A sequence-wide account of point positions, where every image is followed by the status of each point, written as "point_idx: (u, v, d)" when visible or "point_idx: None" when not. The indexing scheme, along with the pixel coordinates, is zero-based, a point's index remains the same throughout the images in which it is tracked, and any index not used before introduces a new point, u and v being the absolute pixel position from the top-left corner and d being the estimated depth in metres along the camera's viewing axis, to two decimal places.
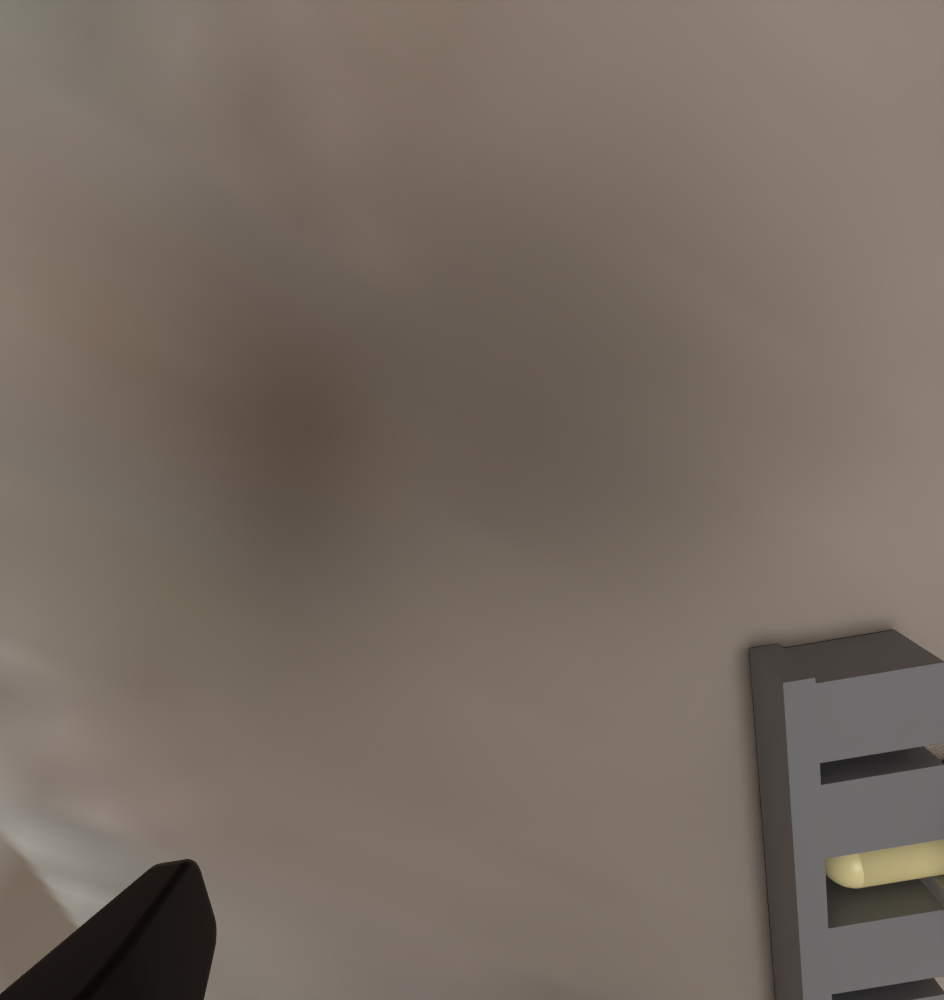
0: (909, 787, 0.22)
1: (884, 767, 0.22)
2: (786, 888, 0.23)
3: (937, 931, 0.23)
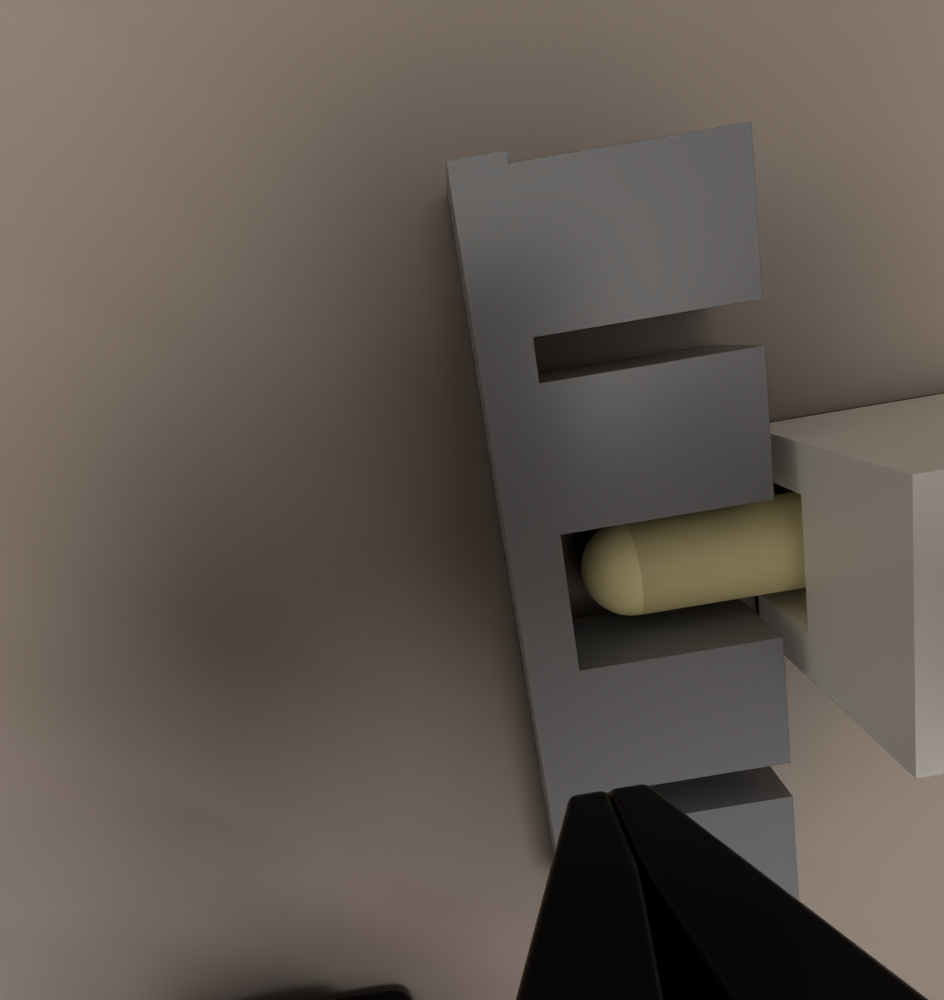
0: (702, 392, 0.12)
1: (660, 361, 0.12)
2: (516, 611, 0.14)
3: (771, 679, 0.13)
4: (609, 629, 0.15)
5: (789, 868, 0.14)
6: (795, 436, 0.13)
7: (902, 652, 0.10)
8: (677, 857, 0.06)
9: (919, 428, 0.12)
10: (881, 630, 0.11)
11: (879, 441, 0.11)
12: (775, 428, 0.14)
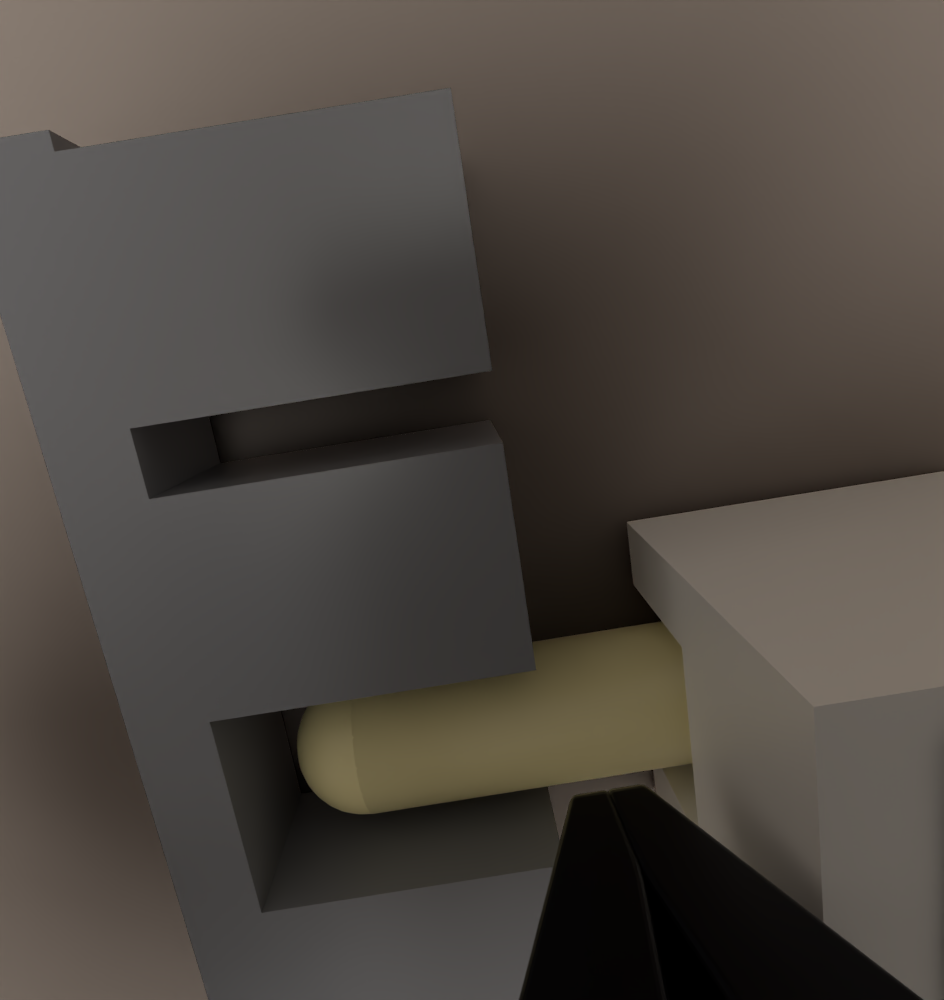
0: (409, 512, 0.08)
1: (351, 462, 0.08)
2: None
3: None
4: (350, 819, 0.10)
5: None
6: (676, 555, 0.08)
7: None
8: (675, 857, 0.06)
9: (857, 559, 0.07)
10: None
11: (788, 586, 0.07)
12: (660, 531, 0.09)
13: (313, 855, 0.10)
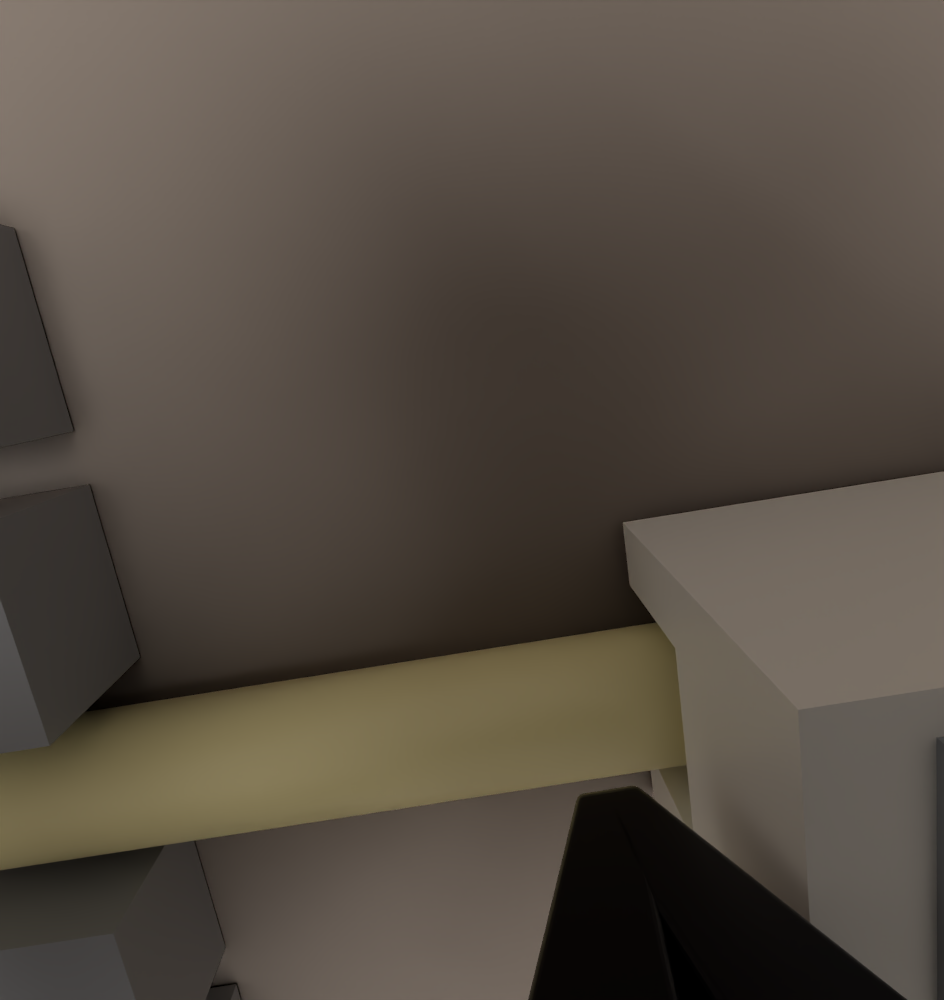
0: None
1: None
2: None
3: (110, 988, 0.09)
4: None
5: None
6: (670, 556, 0.08)
7: None
8: (665, 859, 0.06)
9: (850, 560, 0.07)
10: None
11: (780, 588, 0.07)
12: (655, 531, 0.09)
13: None
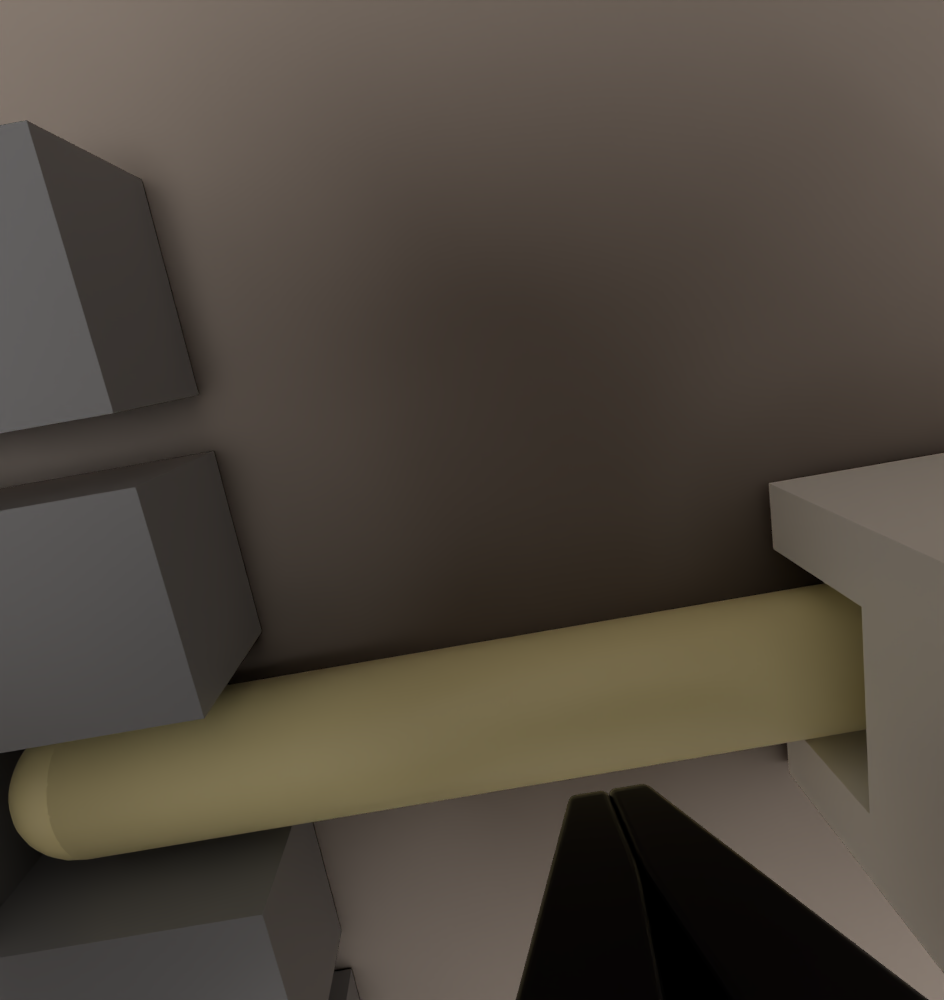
0: (48, 560, 0.07)
1: None
2: None
3: (257, 972, 0.09)
4: (91, 860, 0.10)
5: None
6: (850, 511, 0.08)
7: None
8: (677, 858, 0.06)
9: None
10: None
11: None
12: (813, 490, 0.09)
13: (36, 900, 0.09)
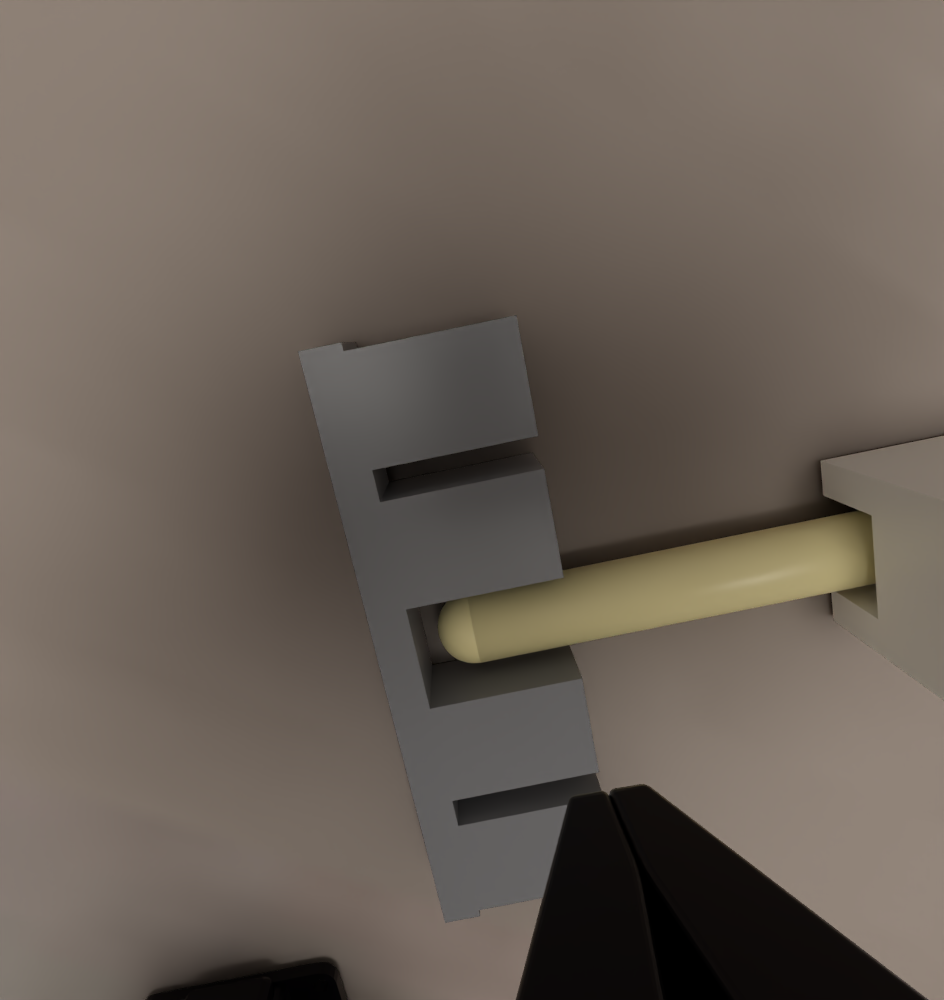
0: (501, 503, 0.16)
1: (471, 481, 0.16)
2: None
3: (576, 710, 0.18)
4: (464, 672, 0.19)
5: None
6: (864, 471, 0.17)
7: None
8: (677, 857, 0.06)
9: None
10: (941, 615, 0.15)
11: (932, 477, 0.15)
12: (845, 463, 0.18)
13: (449, 687, 0.18)
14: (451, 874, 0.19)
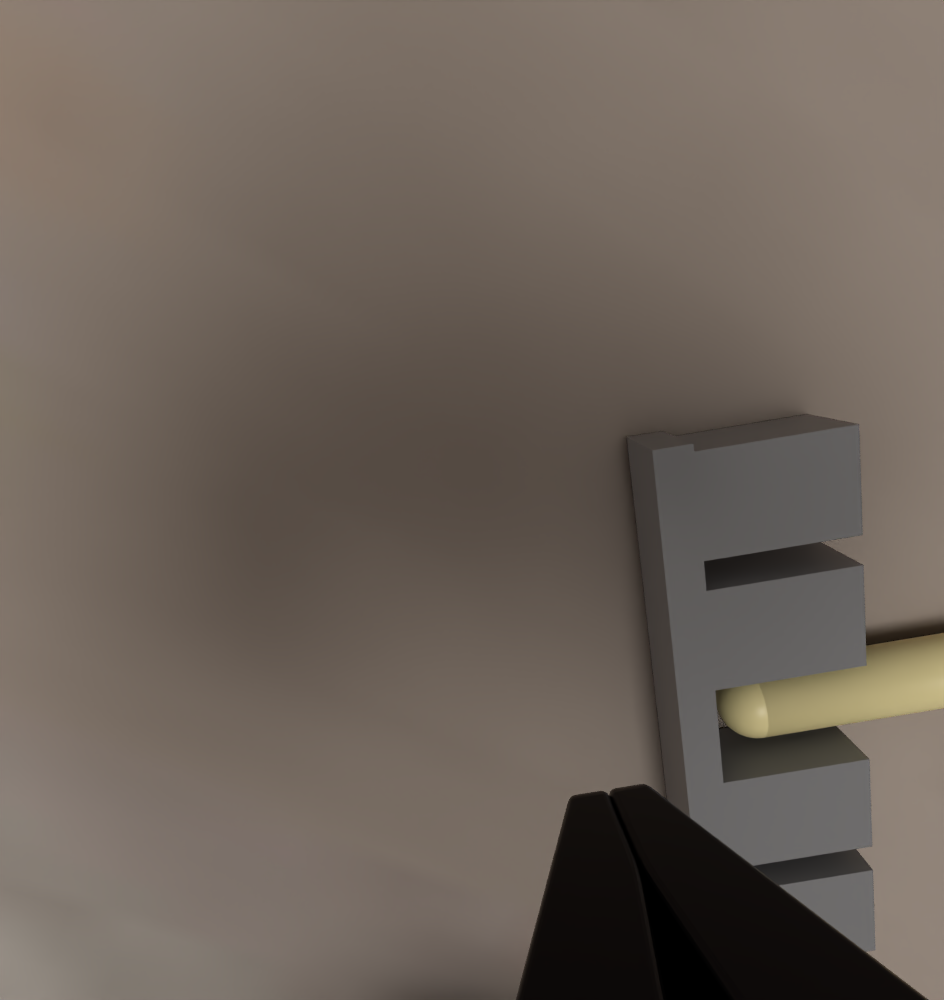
0: (819, 595, 0.17)
1: (789, 572, 0.17)
2: (674, 737, 0.19)
3: (860, 788, 0.18)
4: (734, 743, 0.20)
5: (868, 922, 0.19)
6: None
7: None
8: (677, 858, 0.06)
9: None
10: None
11: None
12: None
13: (728, 759, 0.19)
14: None
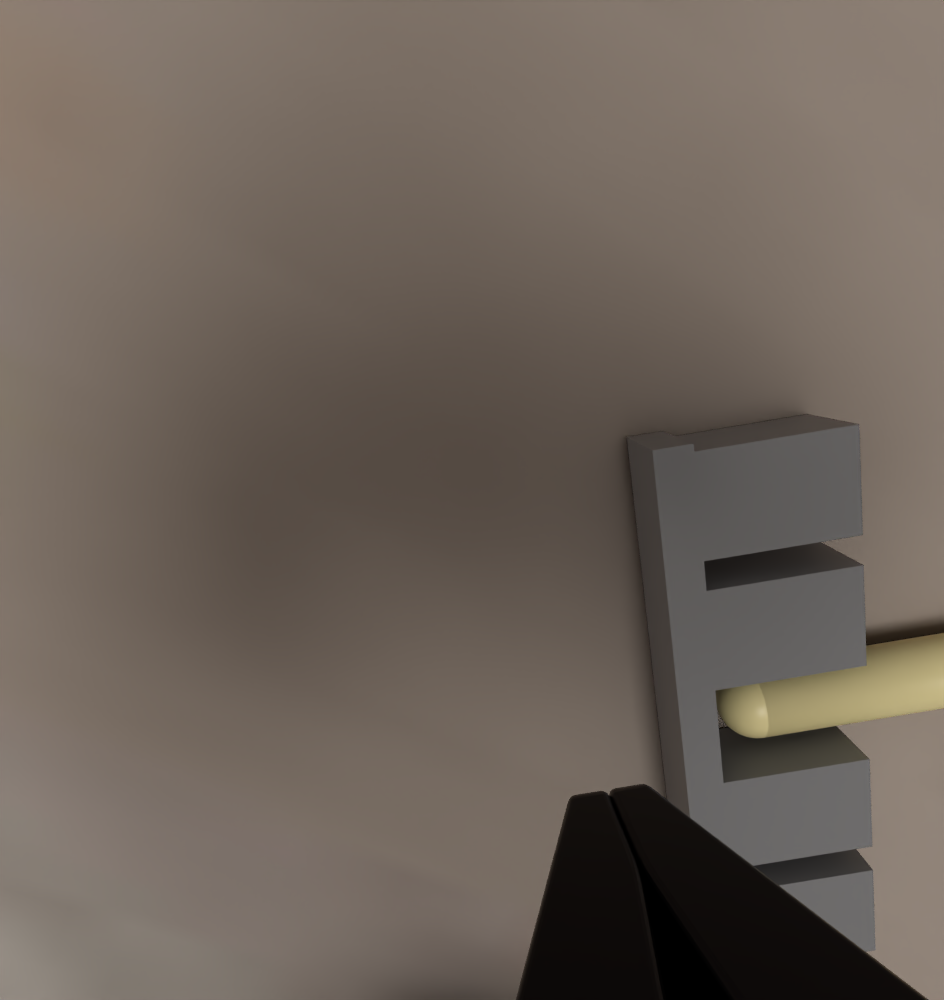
0: (819, 595, 0.17)
1: (789, 572, 0.17)
2: (674, 737, 0.19)
3: (860, 788, 0.18)
4: (734, 743, 0.20)
5: (868, 922, 0.19)
6: None
7: None
8: (677, 858, 0.06)
9: None
10: None
11: None
12: None
13: (728, 759, 0.19)
14: None
